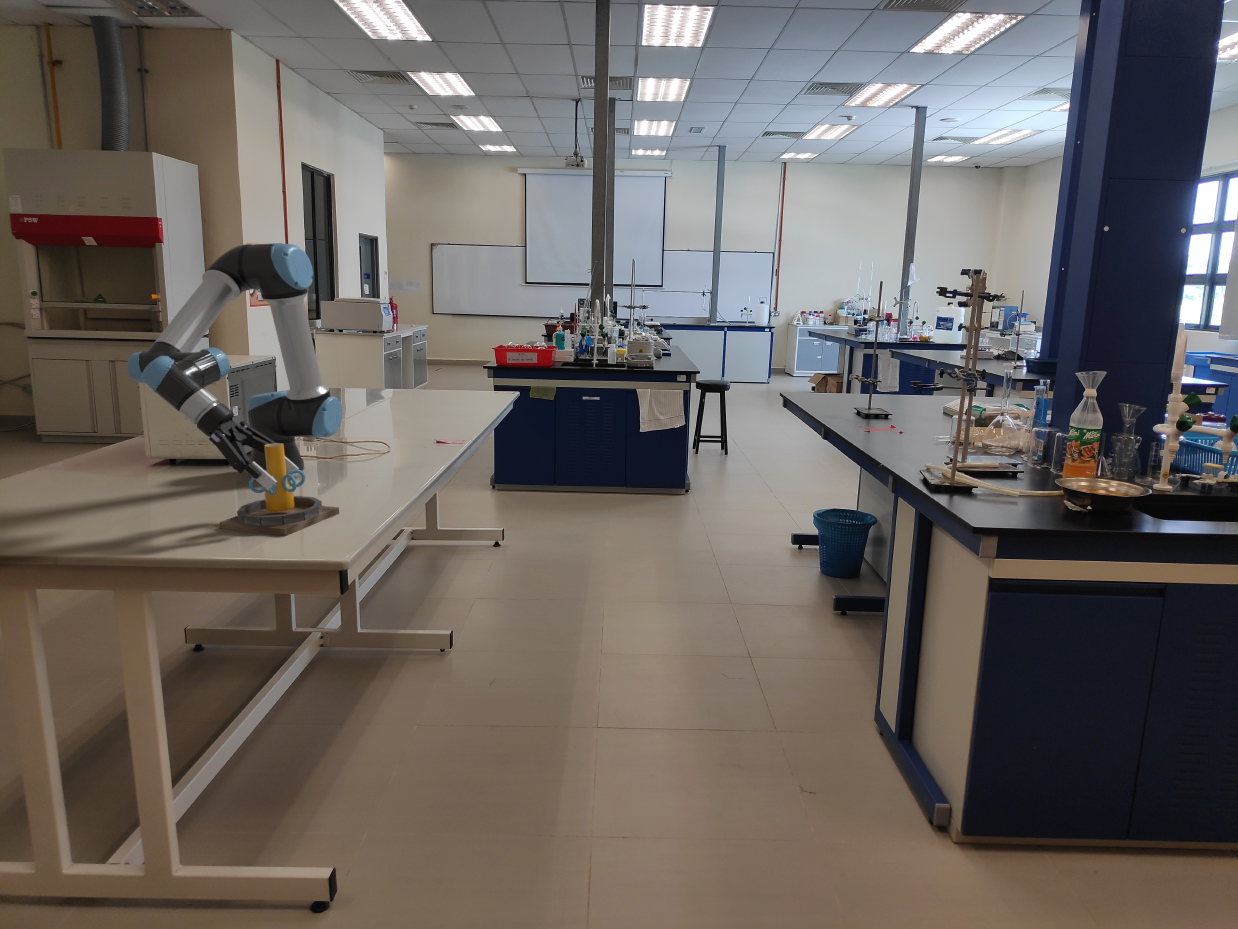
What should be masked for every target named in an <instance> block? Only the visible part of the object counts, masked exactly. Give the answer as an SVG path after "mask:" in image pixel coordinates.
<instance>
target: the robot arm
mask: <svg viewBox="0 0 1238 929" xmlns="http://www.w3.org/2000/svg"><path fill="white" fill-rule="evenodd" d="M311 262H312V261H311V260H310V258H309V256H308V255H307V253H306V252H305V251H304V250H303V249H302V248H300V247H299V246H298V245H295V244H293V243H282V242H278V243H274V242H273V243H259V244H258V243H256V244H255V243H253V244H252V243H246V244H240V245H237V246H235V247H232V248H231V249H229V250H227V251H226V252H224V253H223V254H221V255H220V256H219V257H218V258H217V259H215V260H214V261H213V262H212V263H211V264H210V265H209V267H207V269H206V270H205V271H204V273H203V274H202V277H201V279H202V281H201V283H200V285H199V286H198V287H197V288H196V290H194V292H193V293H192V294H191V296H190V297H189V298H188V299H187V301H186V302H185V304H184V305H183V306H182V307H181V308H180V309H179V311H178V312H177V313H176V314H175V316H173V319H172V320H171V321H170V322H169V323H168V324H167V326H166V327H165V328H164V330H163V331H162V332H160V333H161V334H160V335H159V336H158V337H157V338H156V340H155V341H154V342H153V343H152V344H151V346H150V347H149V348H148V350H147V351H146V350H142V351H138V352H134V353H132V354H131V355H130V356H129V358H128V359H127V363H126V367H127V368H126V370H127V372H128V375H129V376H130V377H131V379H132V380H133V381H135V382H137V383H140V384H146V385H147V386H148V387H149V388H150V389H151V390H152V391H153V392H154V393H155V394H157V395H158V396H160V397H161V398H162V399H163V400H164V401H165V402H167V403H168V404H169V405H170V406H172V407H173V408H174V409H175V410H176V411H178V412H179V413H180V414H181V415H182V416H183V417H184V420H188V421H189V422H190V423H191V424H193V425H196V427H197V429H198V430H200V431H201V432H202V433H203V434H205V436H206V437H208V439H209V442H211V443H213V445H214V446H215V447H217V449H218V451H219V452H220V453H221V454H222V455H223V457H224V458H225V459H226V461H227V462H228V463H229V465H230V466H231V467H232V468H233V469H234V470H235V471H237V472H238V473H239V474H242V473H243V472H245V473H247V475H249V477H251V478H252V477H253V478H254V479H255V480H254V481H256V482H257V483H258V484H260V485H261V486H262V488H266V489H267V490H270V489H271V488H272V487H273V485H274V484H275V483H276V482H277V481H276V480H275V479H274V478H273V477H272V476H270V475H269V474H268V473H267V472H266V471H267V466H266V457H265V448H264V445H266V444H272V443H282V444H283V445H284V454H285V464H286V470H287V474H288V473H289V472H290V471H291V470H294V469H298V470H301V471H303V470H304V469H305V463H304V459H303V458H302V456H301V453H300V451H299V448H298V446H297V443H296V437H297V438H298V437H300V438H314V439H319V438H330V437H332V436H334V435H335V434H336V433H337V432H338V430H339V428H340V427H341V424H342V421H343V420H342V419H343V414H344V413H343V412H344V411H343V410H344V409H343V404H342V402H341V401H340V400H339V398H338V397H336V396H334V395H332V396H331V391H330V388H329V387H328V385H326V384H324V383H323V380H322V377H321V373H320V368H319V364H318V358H317V354H316V350H315V345H314V342H313V337H312V332H311V329H310V328H311V327H310V323H309V319H308V314H307V309H306V305H305V301H304V300H305V298H306V297H307V296H308V294H309V292H308V288H310V286H311V285H312V283H313V277H314V270H313V265H312V263H311ZM251 290H259V291H260V296H261V299H262V300H263V301H264V302H266V303H267V304H269V308H270V311H271V315H272V319H273V324H274V328H275V331H276V336H277V340H278V343H279V344H278V345H279V348H280V352H281V356H282V360H283V364H284V369H285V373H286V378H287V382H288V385H289V389H288V390H280V391H279V390H278V391H272V392H266V393H265V392H264V393H259V394H255V395H251V396H250V397H249V398H248V399H247V410H246V411H247V414H248V423H249V424H248V423H247V422H246V421H244V420H241V421H240V422H239V423H237V422H235V421H233V418H234V416H235V413H234V412H233V411H232V410H231V409H230V408H229V407H227V405H226V404H224V403H221V402H220V399H218V398H217V396H215V395H214V394H213V393H212V392H210V391H209V390H208V389H207V388H206V387H207V386H209V385H211V384H213V383H215V382H218V381H220V380H221V379H223V378H224V377H225V376H227V375H228V374H229V372H230V369H231V363H230V360H229V357H228V356H227V355H226V353H225V352H224V351H222V349H220V348H217V347H213V346H212V347H207V348H203V349H200V350H199V351H195V352H193V351H194V350H195V348H196V346H197V345H199V342H200V341H201V340H202V339H203V337H204V336H205V334H206V333H207V332H208V330H209V329H210V327H212V325H213V324H214V323H215V321H216V320H217V319H218V317H219V316H220V315H221V313H222V312H223V311H224V309H225V308H226V306H227V305H228V304H229V303H230V302H231V301H235V300H237V299H238V298H239V297H240V295H241V294H242V293H244V292H247V291H251ZM244 446H247V447H249V448H251V452H250V458H249V456H248V454H247V452H246V450H245V449H244ZM265 470H266V471H265ZM294 474H295V473H293V474H292V476H294Z"/></svg>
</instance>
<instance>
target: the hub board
mask: <svg viewBox="0 0 1238 929" xmlns="http://www.w3.org/2000/svg"><path fill="white" fill-rule="evenodd" d="M293 496H294V508H292V509H290V510H287V511H280V512H272V511H268V510H267V509H266V500H265V499H260V500H256V501H252V502H250V503H246V504H244V505H242V506H240V507H239V509H237V511H236V514H237V515H236V516H233V517H230V518H227V519H225V520H222V521H219V527H220V529H221V530H228V531H229V530H230V531H238V532H245V533H246V532H248V533H257V534H265V535H275V536H282V537H286V536H288V534H289V535H290V534H291V535H292V534H293V532H294V533H296V532H298V531H301V530H304V529H306V528H308V527H311V526H312V525H315V524H317V523H319V522H322V521H325V520H327V519H329V518H332V517H334V516H336V514H337V515H339V514H340V508H339V507H338V506H332V505H331V506H330V505H329V506H328V505H323V504H322V500H320V499H318V498H316V497H313V496H304V495H303V496H302V495H293ZM305 527H306V528H305Z"/></svg>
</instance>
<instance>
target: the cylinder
mask: <svg viewBox="0 0 1238 929" xmlns="http://www.w3.org/2000/svg"><path fill="white" fill-rule="evenodd" d="M264 448H265V457H266V466H267V471H266V470H265V471H266V472H267V473H268V474H269V475H270V476H272V477H273V478H274V479H275V480H276V481H277V482H276V483H275V484H274V485H273V487H272V488H271V489H270V490H267V489H266V488H264V487H262V488H260V489H257V488H255V487H254V484H253V483H254V482H255V481H256V480H255V479H254V478H253V477H251V478H250V479H249V481H248V487H249V490H250V491H252V492H254V493H255V494H262V493H264V498H265V500H266V509H267V510H268V511H272V512H280V511H287V510H290V509H292V508H294V496H295V495H294V492H295V491H296V489H297V488H299V487H301V486H302V485H304V483H305V481H306V475H305V474H306V473H304V472H303V470H298V469H294V470H291V471H290V472H289V473H288V474H287V470H286V464H285V454H284V445H283V444H282V443H272V444H266V445H264ZM293 473H294V474H299V475H300V476H301V480H300V482H298V483H297V480H296V478H295V477H294V474H293ZM292 474H293V475H292Z"/></svg>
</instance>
